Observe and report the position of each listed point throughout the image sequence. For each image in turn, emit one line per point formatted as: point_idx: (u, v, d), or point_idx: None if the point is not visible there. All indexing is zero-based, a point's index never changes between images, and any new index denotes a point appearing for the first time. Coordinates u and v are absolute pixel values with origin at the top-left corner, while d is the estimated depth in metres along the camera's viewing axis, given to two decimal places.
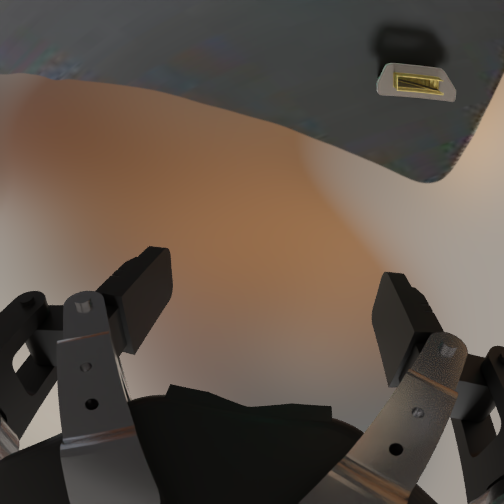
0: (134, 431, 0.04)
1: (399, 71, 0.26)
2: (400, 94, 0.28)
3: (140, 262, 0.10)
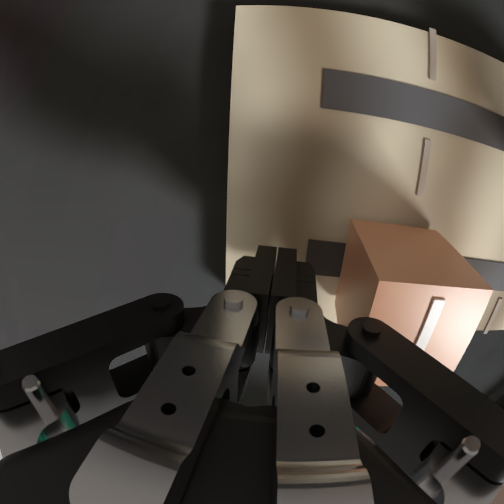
0: (183, 457, 0.03)
1: None
2: None
3: (262, 260, 0.10)
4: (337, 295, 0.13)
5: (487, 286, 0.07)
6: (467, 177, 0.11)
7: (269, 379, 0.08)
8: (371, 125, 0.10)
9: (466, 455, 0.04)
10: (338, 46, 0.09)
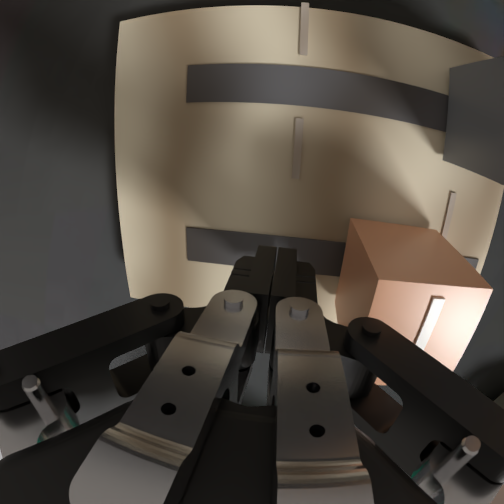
0: (183, 457, 0.03)
1: None
2: None
3: (262, 260, 0.10)
4: (337, 294, 0.13)
5: (486, 285, 0.07)
6: (356, 155, 0.11)
7: (269, 379, 0.08)
8: (234, 112, 0.11)
9: (466, 455, 0.04)
10: (202, 41, 0.10)
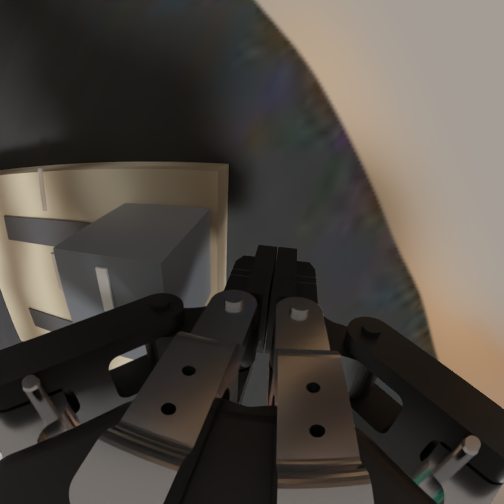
0: (183, 457, 0.03)
1: None
2: None
3: (262, 260, 0.10)
4: None
5: None
6: None
7: (269, 379, 0.08)
8: (27, 247, 0.15)
9: (466, 455, 0.04)
10: (6, 200, 0.14)
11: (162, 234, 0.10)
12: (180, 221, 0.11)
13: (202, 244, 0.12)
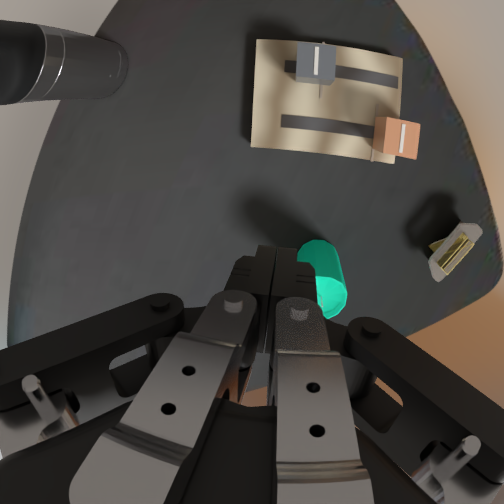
0: (183, 457, 0.03)
1: (439, 258, 0.36)
2: (450, 268, 0.36)
3: (262, 261, 0.10)
4: (373, 144, 0.33)
5: (418, 124, 0.27)
6: (340, 91, 0.32)
7: (269, 379, 0.08)
8: None
9: (466, 455, 0.04)
10: (289, 52, 0.31)
11: None
12: None
13: None
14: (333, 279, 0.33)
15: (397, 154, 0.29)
